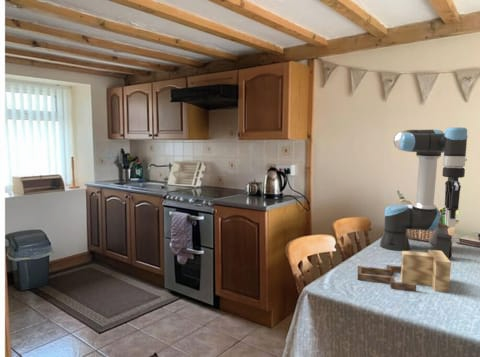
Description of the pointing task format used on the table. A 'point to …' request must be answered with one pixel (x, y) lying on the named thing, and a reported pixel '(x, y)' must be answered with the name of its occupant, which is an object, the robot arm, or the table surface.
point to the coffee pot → (441, 230)
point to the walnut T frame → (384, 277)
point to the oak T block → (426, 269)
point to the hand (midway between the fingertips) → (450, 225)
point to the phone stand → (444, 244)
